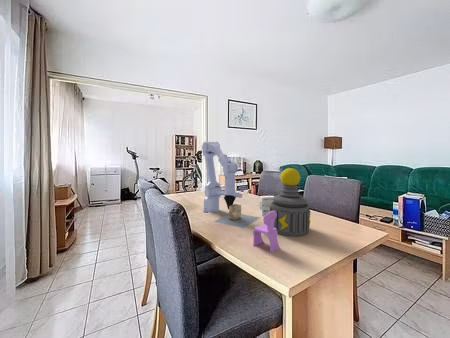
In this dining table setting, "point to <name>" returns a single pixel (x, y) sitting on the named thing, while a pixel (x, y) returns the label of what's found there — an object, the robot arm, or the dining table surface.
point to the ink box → (265, 204)
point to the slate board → (241, 222)
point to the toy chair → (267, 231)
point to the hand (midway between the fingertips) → (229, 209)
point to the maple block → (234, 212)
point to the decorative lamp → (291, 207)
